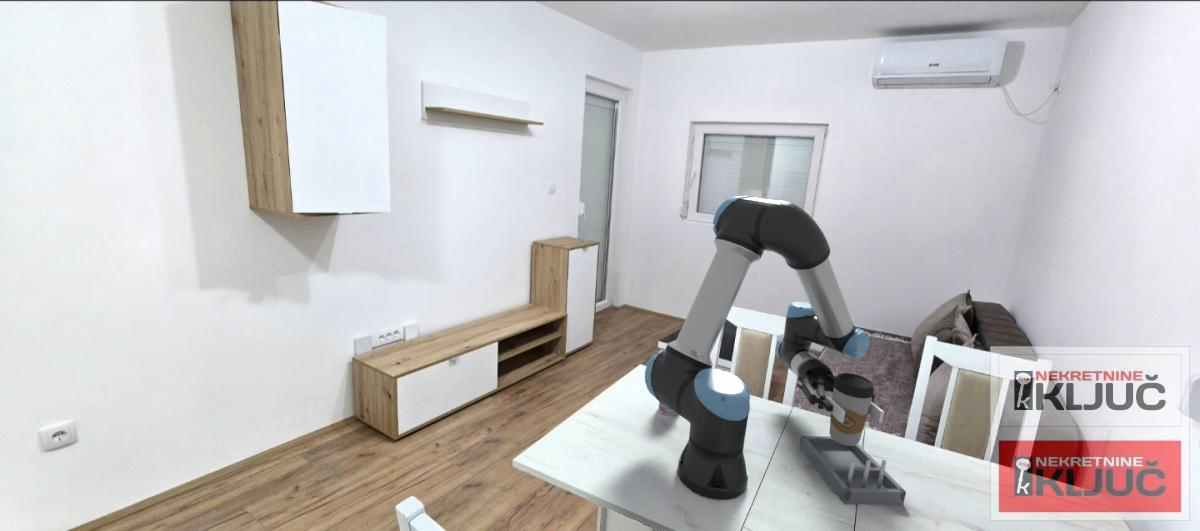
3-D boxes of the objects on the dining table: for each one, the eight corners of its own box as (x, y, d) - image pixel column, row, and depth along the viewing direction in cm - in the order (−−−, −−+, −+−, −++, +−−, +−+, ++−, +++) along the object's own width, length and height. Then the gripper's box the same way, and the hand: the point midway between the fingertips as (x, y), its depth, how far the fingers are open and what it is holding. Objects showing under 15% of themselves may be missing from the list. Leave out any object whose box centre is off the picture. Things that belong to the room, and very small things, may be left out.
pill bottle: (656, 405, 135) (659, 368, 132) (677, 404, 136) (680, 368, 133) (661, 416, 129) (664, 378, 126) (683, 416, 130) (687, 378, 127)
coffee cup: (821, 440, 110) (832, 381, 107) (827, 424, 117) (837, 368, 114) (862, 453, 106) (874, 392, 102) (865, 436, 113) (876, 378, 109)
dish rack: (799, 446, 118) (803, 419, 117) (849, 447, 119) (854, 420, 118) (844, 504, 99) (850, 472, 97) (903, 504, 100) (910, 473, 98)
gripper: (846, 384, 129) (904, 432, 106) (771, 383, 127) (813, 431, 105) (851, 358, 127) (910, 402, 105) (775, 357, 125) (818, 401, 103)
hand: (862, 417), depth 105 cm, fingers closed on coffee cup, 8 cm apart
